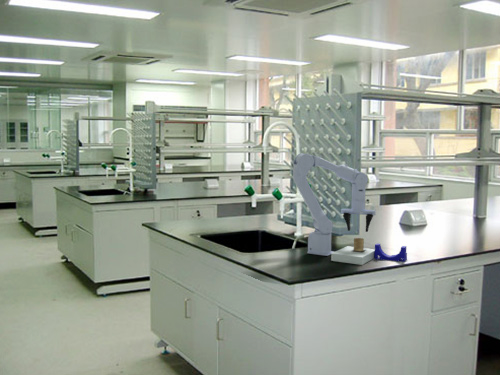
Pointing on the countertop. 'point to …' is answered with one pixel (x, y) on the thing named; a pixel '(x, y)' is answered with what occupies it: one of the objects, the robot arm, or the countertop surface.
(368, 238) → the countertop surface
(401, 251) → the blue cradle bracket
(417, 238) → the countertop surface
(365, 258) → the hole board
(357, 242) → the oak peg
